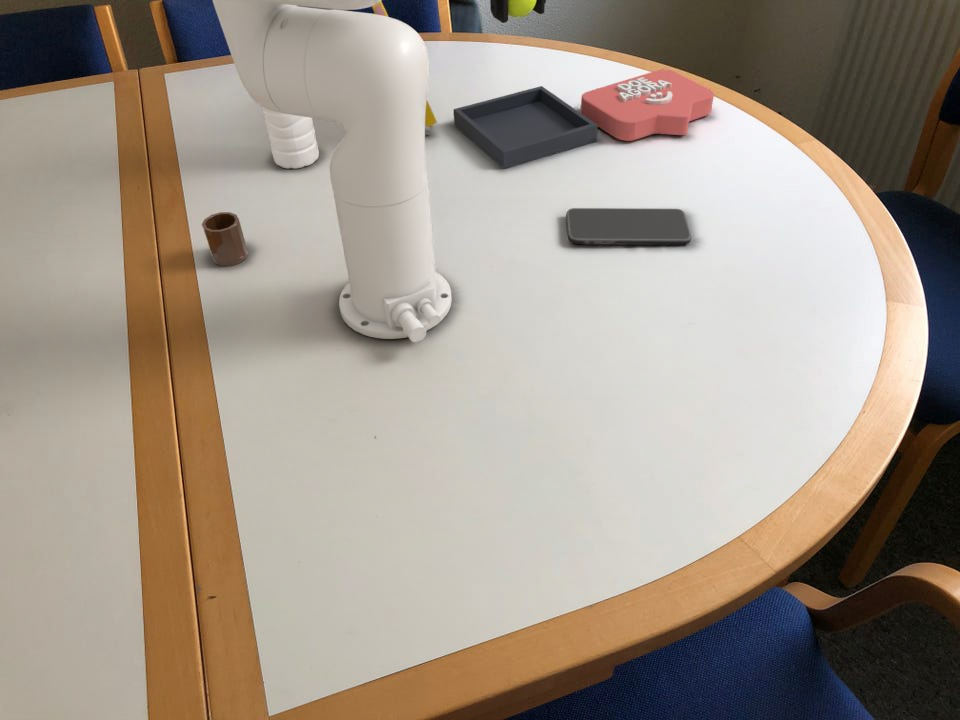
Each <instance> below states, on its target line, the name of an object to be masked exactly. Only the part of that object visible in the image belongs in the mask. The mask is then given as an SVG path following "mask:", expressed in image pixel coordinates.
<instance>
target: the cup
mask: <svg viewBox="0 0 960 720" xmlns="http://www.w3.org/2000/svg"><path fill="white" fill-rule="evenodd" d="M201 227H202V230H203V233H204V236H205V239H206V243H207V246H208V250H209V252H210V255H211V257H212V261H213V262H214V264H216V265H218V266H221V267H231V266H236V265H238V264H241V263H242V262H243V261H245V260H246V259H247V257H248V255H249V252H248V246H247V243H246V238H245V237H244V236H245V235H244V233H243V229H242V225H241V221H240V218H239V217H238V214H235V213H234V212H229V211H220V212H218V213H217V212H216V213H213V214H210V215H209V216H207V217H205V218H204V219H203V221H202V223H201Z"/></svg>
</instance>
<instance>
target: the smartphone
mask: <svg viewBox="0 0 960 720" xmlns="http://www.w3.org/2000/svg"><path fill="white" fill-rule="evenodd" d="M565 215H566V216H565V217H566V225H567V226H566V227H567V239H568V241H569V242H570V243H572V244H574V245H658V246H659V245H661V246H662V245H664V246H665V245H669V246H670V245H673V246H674V245H679V246H680V245H682V246H684V245H688V244H690V242H691V240H692V234H691V231H690V227H689V223H688V219H687V217H686V213H685V211H684V210H683V209H680V208H621V207H620V208H618V207H617V208H612V207H611V208H605V207H604V208H603V207H599V208H598V207H595V208H594V207H593V208H592V207H591V208H590V207H572V208H569V209H568V210H567V211H566V214H565Z"/></svg>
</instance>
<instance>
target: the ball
mask: <svg viewBox="0 0 960 720" xmlns="http://www.w3.org/2000/svg"><path fill="white" fill-rule="evenodd" d="M535 4H536V0H508V16H510V17H512V18H523V17H525V16H528V15H529V14H530V13H531V12H532V11H533V8H534V6H535Z"/></svg>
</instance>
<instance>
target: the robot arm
mask: <svg viewBox="0 0 960 720" xmlns="http://www.w3.org/2000/svg"><path fill="white" fill-rule="evenodd" d="M380 1H381V2H382V0H212V3H213V7H214V10H215V13H216V15H217V18H218V21H219V24H220V27H221V29H222V33H223V35H224V39H225V41H226V44H227V47H228V49H229V53H230V55H231V59H232V61H233V63H234V66H235V69H236V72H237V75H238V77H239V80H240V82H241V83H242V85H243V88H244V89H245V91H246V92H247V94H248V96H250V97H251V99H252V100H253V101H254V102H255V103H256V104H258V105H259V106H261V107H262V108H263V107H264V108H266V109H269V110H272V111H275V112H280V113H285V114H290V115H297V116H303V117H309V118H312V119H316V120H322V121H325V122H330V123H335V124H338V125H340V126H342V127H343V128H344V131H345V132H344V136H343V138H342V139H341V140H340V142H339V143H338V145H337V146H336V147H335V149H334V150H333V153H332V155H331V158H330V162H329V163H330V164H329V177H330V183H331V189H332V193H333V199H334V205H335V210H336V216H337V221H338V227H339V233H340V237H341V243H342V249H343V254H344V260H345V261H344V262H345V264H346V271H347V277H348V283H346V284H345V285H344V287H343V289H342V290H341V292H340V295H339V298H338V299H339V300H338V307H339V311H340V315H341V318H342V320H343V321H344V322H345V323H346V325H347V326H348V327H349V328H351V329H352V330H353V331H355V332H357V333H359V334H361V335H363V336H367V337H371V338H375V339H382V340H398V339H405V338H408V339H409V340H410V341H411V342H412V343H420V342H422V340H424V339H425V338H426V336H427V331H429V330H430V329H433V328H434V327H436V326H437V325H439V324H440V323H441V322H442V321H443V320H444V319H445V317H446V316H447V315H448V314H449V311H450V309H451V307H452V301H453V299H452V298H453V297H452V289H451V286H450V284H449V282H448V281H447V279H446V278H445V277H444V276H443V275H442V274H441V273H439V272H437V271H436V263H435V262H436V259H435V250H434V249H435V248H434V247H435V246H434V236H433V226H432V211H431V202H430V200H431V199H430V191H429V188H430V187H429V178H428V165H427V154H426V153H427V152H426V135H425V113H426V100H427V98H428V91H429V80H430V58H429V52H428V49H427V45H426V43H425V42H424V39H423V38H422V36H421V35H420V33H418V32H417V31H416V30H415V29H414V28H413V27H411V26H410V25H409V24H407V23H405V22H403V21H401V20H400V19H396V18H393V17H387V16H382V15H377V14H375V13H369V12H362V11H361V12H360V11H356V10H363V9H366V8H372V6H373V5H375V4H377V3H379V2H380ZM489 3H490V4H489V5H490V9H489V10H490V12H491V15H492V17H493V18H494V19H496V20H497V21H499V22H500V23H502V24H505V23H507V22H509V15H508V0H489ZM546 3H547V0H536V4H535V6H534V8H533V10H532V11H533V12H535V13H537V14H538V15H542V14H545V9H546V7H545V5H546ZM352 10H353V11H352ZM354 10H355V11H354ZM427 101H428V100H427Z"/></svg>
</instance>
